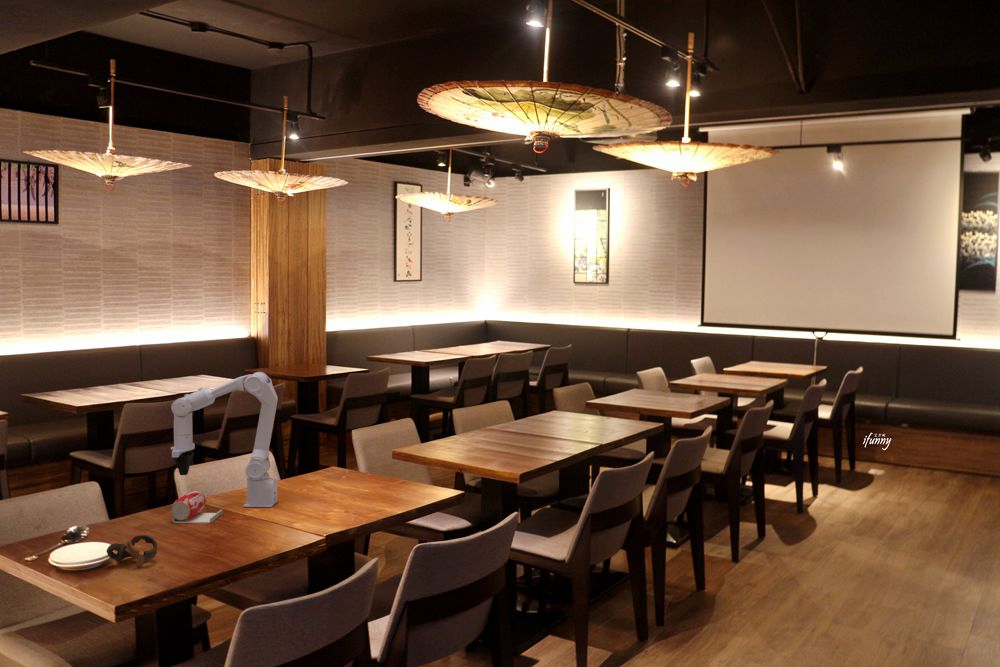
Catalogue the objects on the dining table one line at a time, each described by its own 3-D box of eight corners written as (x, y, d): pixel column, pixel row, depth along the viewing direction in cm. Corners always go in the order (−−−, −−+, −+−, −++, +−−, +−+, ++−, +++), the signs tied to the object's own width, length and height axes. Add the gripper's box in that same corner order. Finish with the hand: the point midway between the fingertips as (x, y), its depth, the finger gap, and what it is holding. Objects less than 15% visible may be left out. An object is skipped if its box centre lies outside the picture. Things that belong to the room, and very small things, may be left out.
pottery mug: (147, 555, 218) (158, 532, 216) (151, 580, 211) (163, 556, 209) (100, 553, 211) (110, 528, 208) (103, 578, 203) (114, 553, 201)
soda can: (211, 504, 258) (196, 514, 246) (193, 515, 258) (176, 526, 246) (199, 485, 258) (183, 495, 246) (181, 496, 258) (164, 507, 246)
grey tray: (222, 514, 257) (222, 509, 257) (211, 523, 247) (211, 518, 247) (184, 514, 257) (184, 509, 257) (172, 523, 247) (172, 518, 247)
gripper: (179, 430, 273) (180, 469, 273) (162, 437, 258) (162, 479, 259) (200, 430, 273) (201, 469, 273) (184, 438, 258) (184, 479, 259)
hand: (183, 474), depth 266 cm, fingers closed
